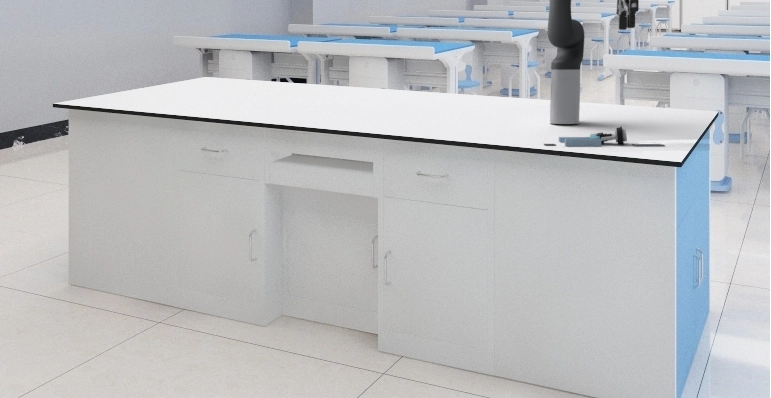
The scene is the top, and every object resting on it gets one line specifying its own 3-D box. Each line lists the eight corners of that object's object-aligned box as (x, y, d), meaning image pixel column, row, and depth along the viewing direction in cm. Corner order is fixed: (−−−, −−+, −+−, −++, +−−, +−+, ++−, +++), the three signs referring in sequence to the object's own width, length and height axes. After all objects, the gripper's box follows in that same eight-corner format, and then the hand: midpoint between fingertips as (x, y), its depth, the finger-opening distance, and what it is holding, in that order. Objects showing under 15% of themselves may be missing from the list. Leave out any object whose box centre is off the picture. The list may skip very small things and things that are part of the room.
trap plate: (542, 144, 268) (542, 143, 268) (552, 144, 268) (552, 143, 268) (545, 145, 263) (545, 144, 263) (556, 145, 263) (556, 144, 263)
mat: (628, 144, 267) (628, 143, 267) (655, 144, 267) (655, 142, 267) (636, 146, 259) (636, 144, 259) (664, 146, 259) (664, 144, 259)
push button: (591, 151, 263) (627, 147, 261) (589, 133, 261) (626, 128, 259) (591, 146, 269) (626, 142, 267) (589, 128, 268) (624, 124, 265)
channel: (558, 144, 270) (558, 137, 269) (592, 143, 270) (592, 137, 270) (565, 146, 260) (565, 139, 260) (601, 146, 260) (601, 139, 260)
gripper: (648, -32, 261) (646, 27, 263) (634, -26, 275) (632, 30, 277) (622, -32, 261) (620, 27, 263) (609, -26, 275) (607, 30, 277)
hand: (626, 28), depth 270 cm, fingers open, 8 cm apart
